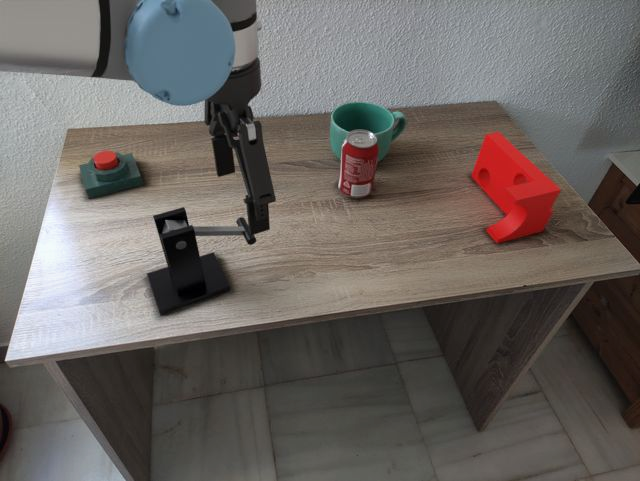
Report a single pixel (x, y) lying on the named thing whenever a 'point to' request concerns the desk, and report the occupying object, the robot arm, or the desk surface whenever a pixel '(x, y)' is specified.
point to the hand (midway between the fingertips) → (241, 200)
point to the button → (106, 160)
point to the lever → (214, 229)
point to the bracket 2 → (514, 189)
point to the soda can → (358, 163)
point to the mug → (365, 125)
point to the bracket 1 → (184, 268)
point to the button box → (110, 176)
